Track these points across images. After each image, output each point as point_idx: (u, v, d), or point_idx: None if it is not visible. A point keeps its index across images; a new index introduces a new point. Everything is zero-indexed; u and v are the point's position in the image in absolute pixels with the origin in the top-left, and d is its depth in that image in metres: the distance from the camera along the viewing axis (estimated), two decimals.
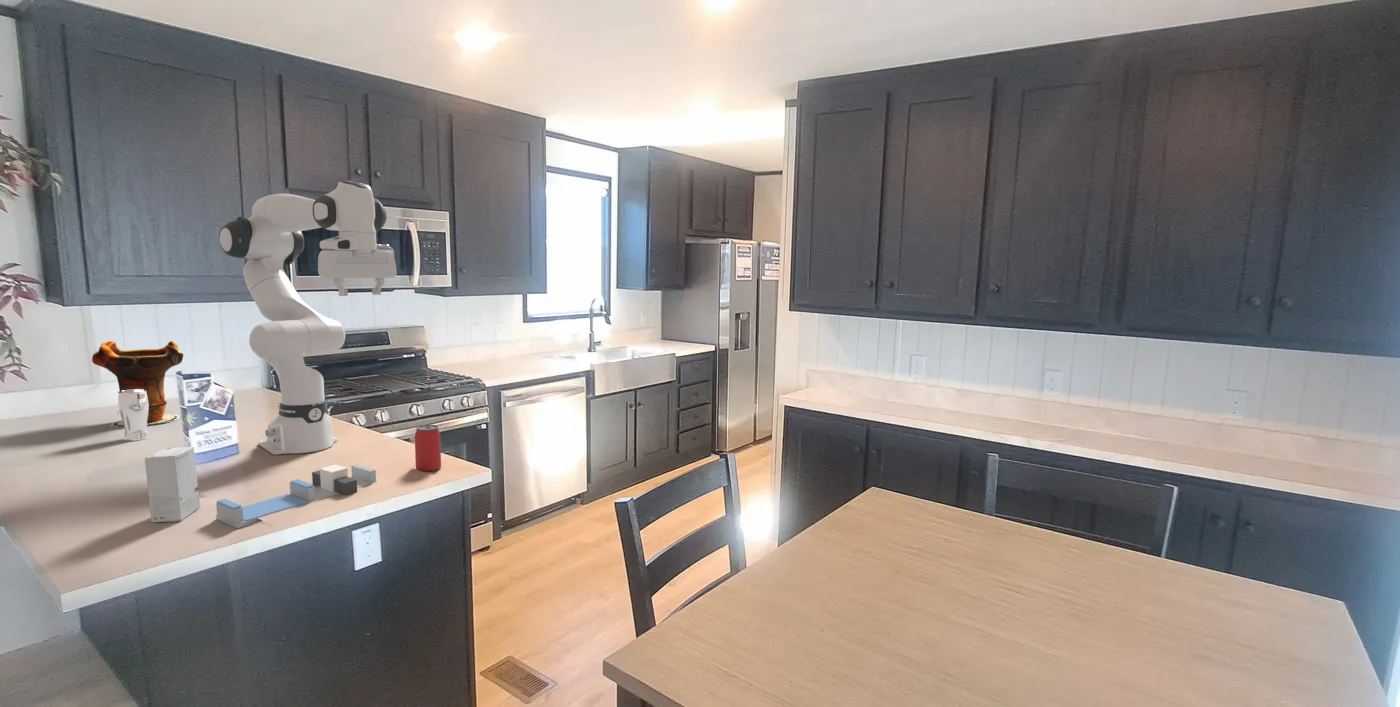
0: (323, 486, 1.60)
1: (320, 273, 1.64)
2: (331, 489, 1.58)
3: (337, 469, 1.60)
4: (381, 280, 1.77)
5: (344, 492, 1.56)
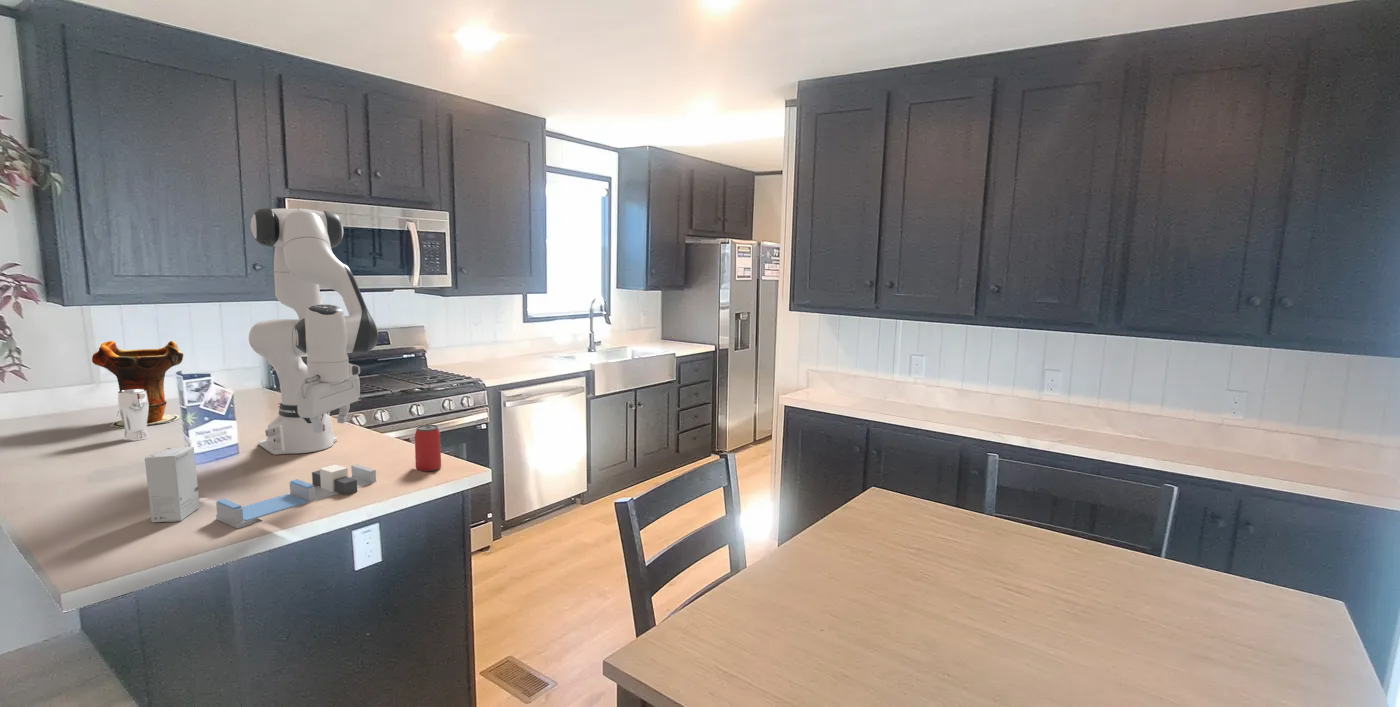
0: (323, 486, 1.60)
1: None
2: (331, 489, 1.58)
3: (337, 469, 1.60)
4: None
5: (344, 492, 1.56)
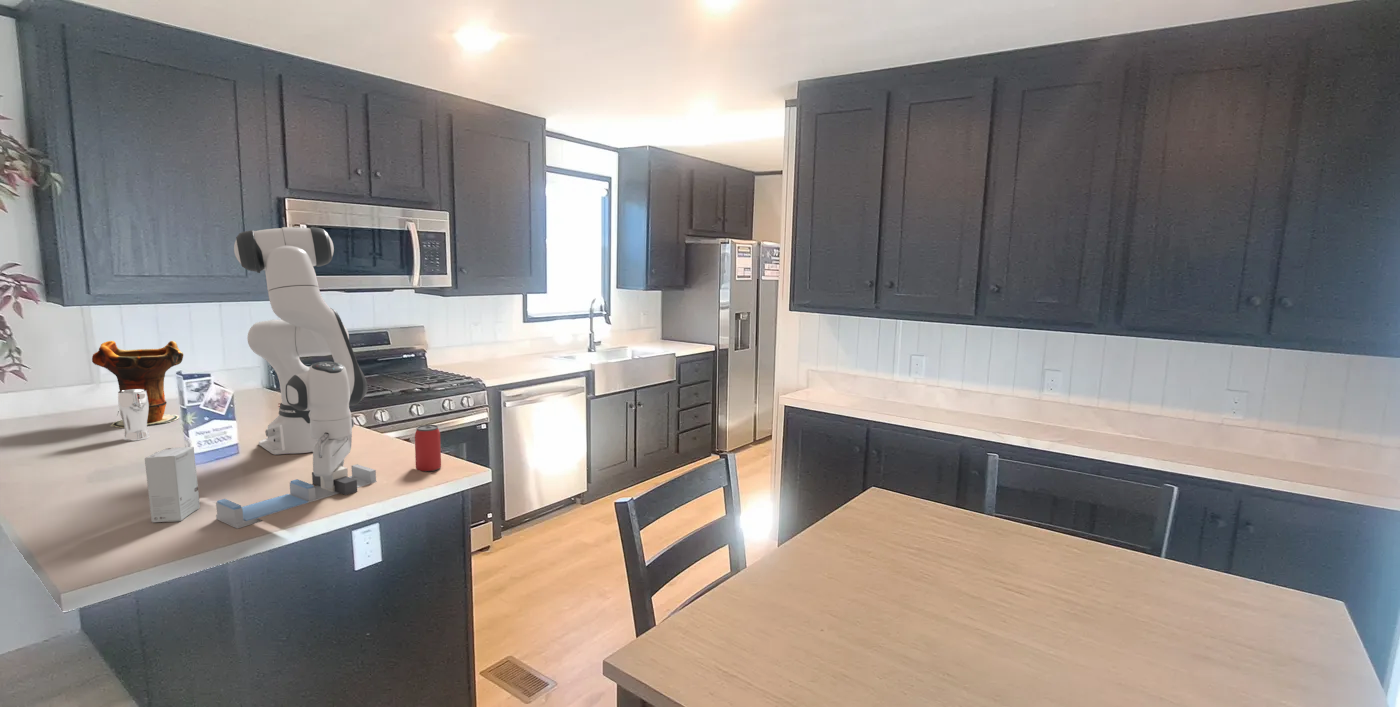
0: (323, 486, 1.60)
1: None
2: (331, 489, 1.58)
3: (337, 469, 1.60)
4: None
5: (344, 492, 1.56)
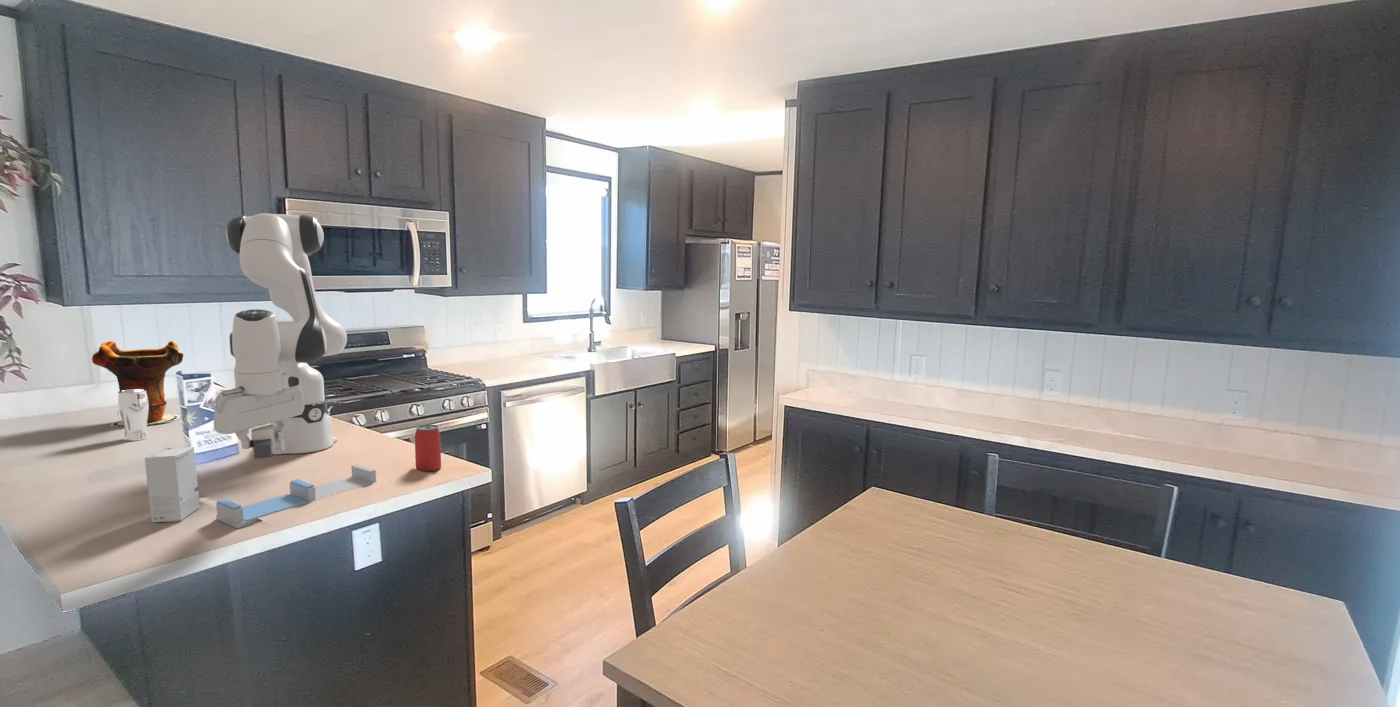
0: None
1: None
2: None
3: (262, 429, 1.44)
4: None
5: (254, 455, 1.39)
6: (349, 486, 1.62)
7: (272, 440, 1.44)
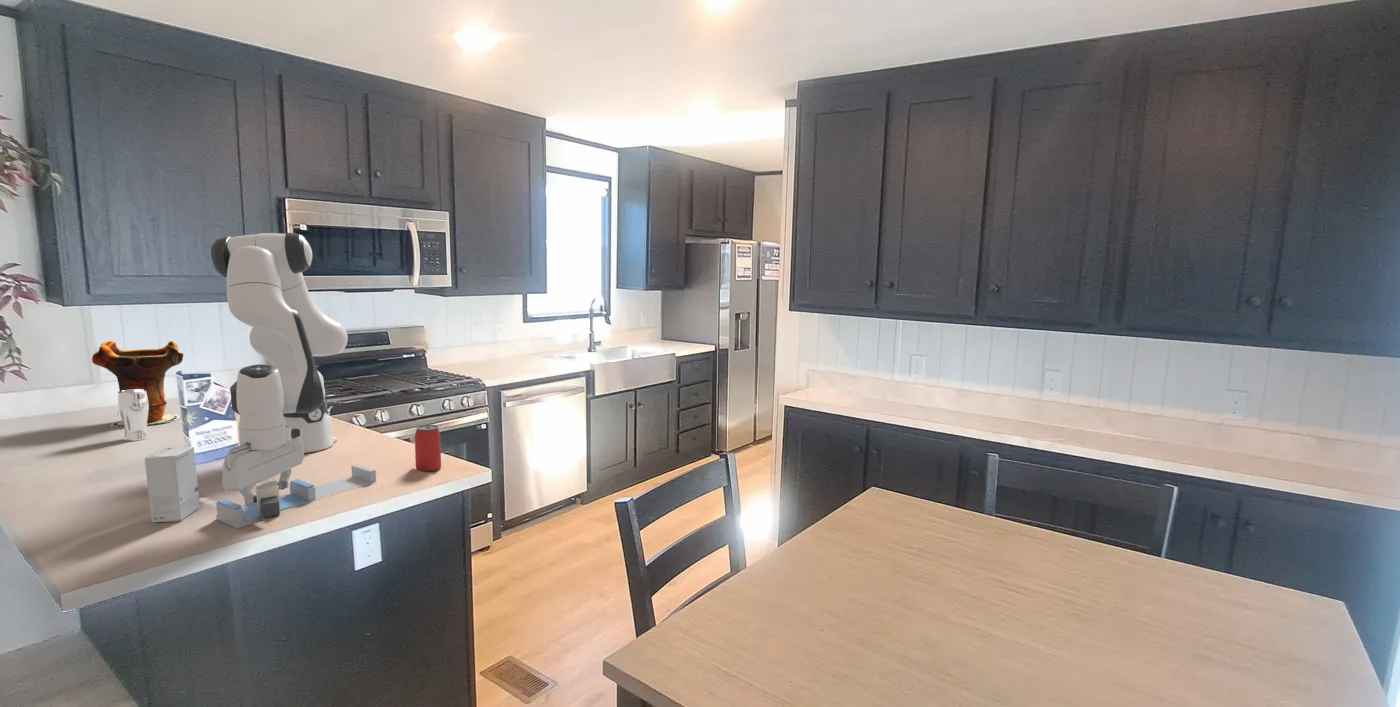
0: (257, 503, 1.47)
1: None
2: (258, 508, 1.45)
3: (267, 487, 1.46)
4: None
5: (263, 514, 1.42)
6: (349, 486, 1.62)
7: (278, 497, 1.47)
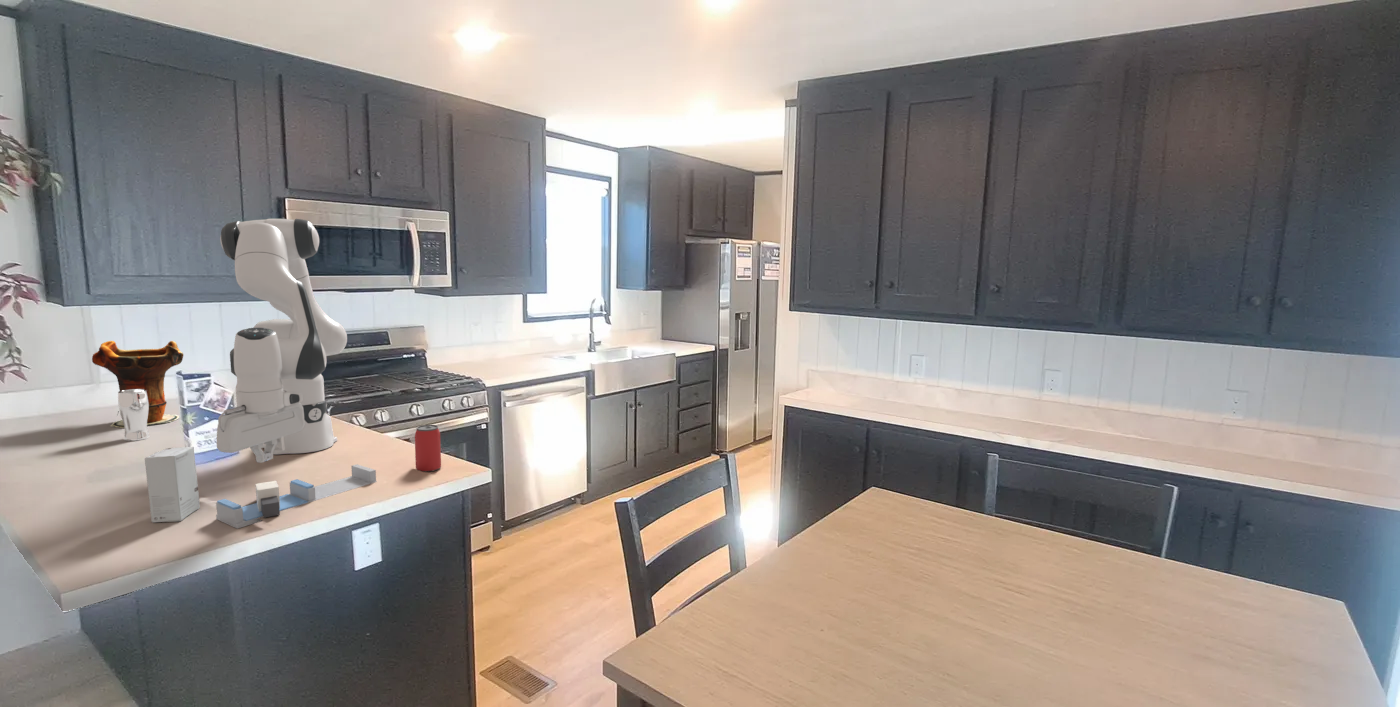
0: (257, 503, 1.47)
1: None
2: (258, 508, 1.45)
3: (267, 487, 1.46)
4: None
5: (263, 514, 1.42)
6: (349, 486, 1.62)
7: (278, 497, 1.47)
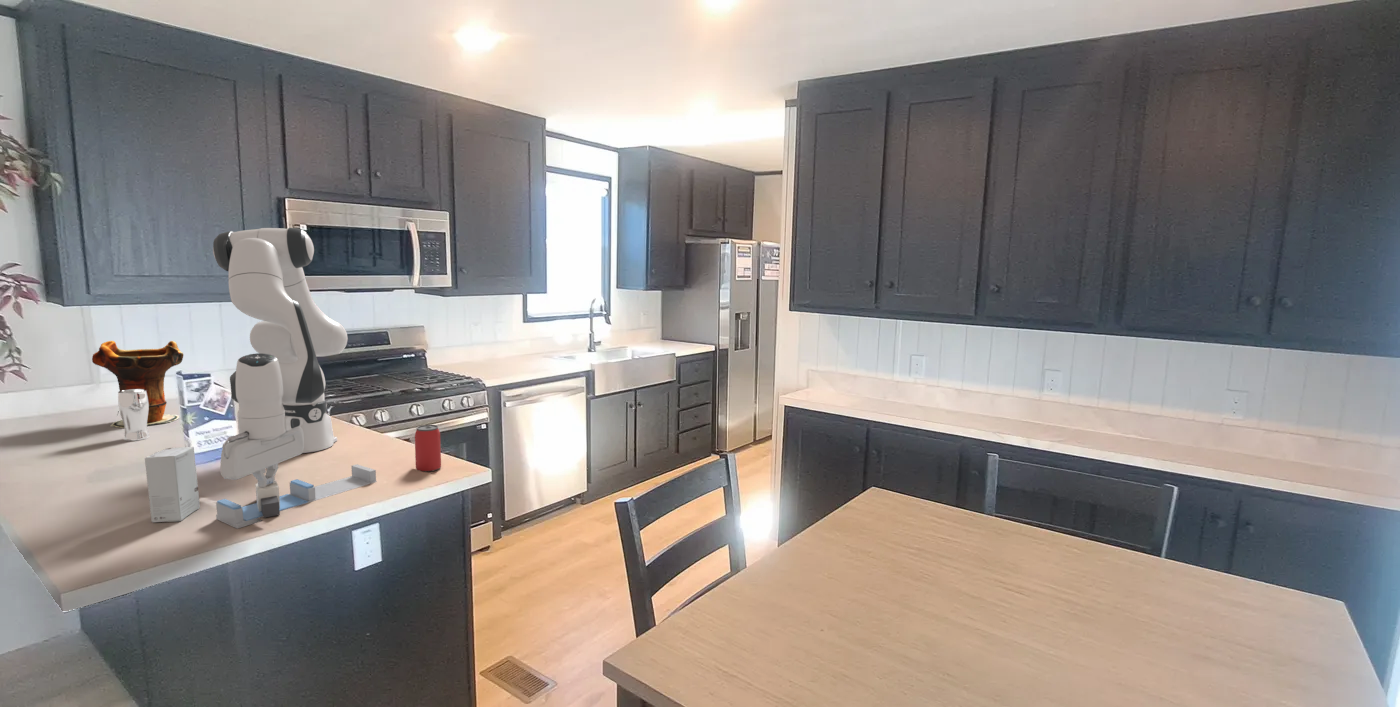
0: (257, 503, 1.47)
1: None
2: (258, 508, 1.45)
3: (267, 487, 1.46)
4: None
5: (263, 514, 1.42)
6: (349, 486, 1.62)
7: (278, 497, 1.47)
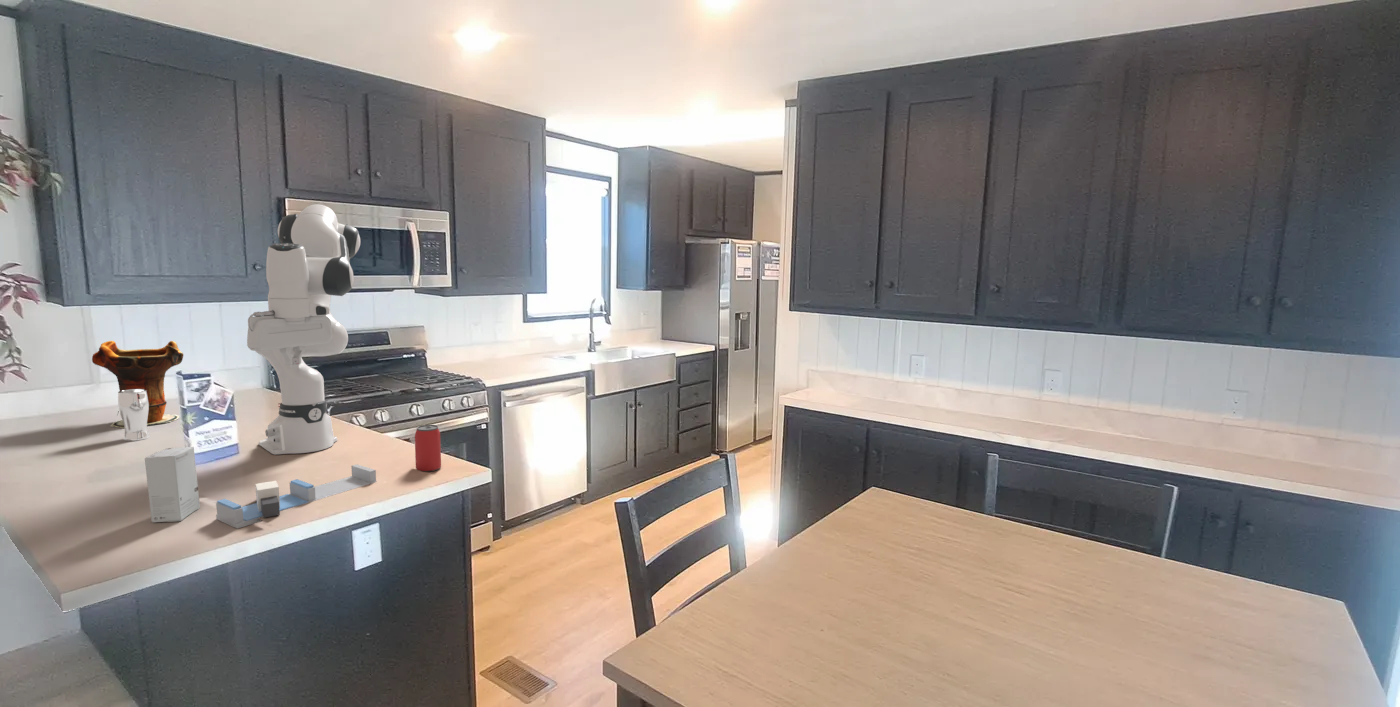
0: (257, 503, 1.47)
1: None
2: (258, 508, 1.45)
3: (267, 487, 1.46)
4: None
5: (263, 514, 1.42)
6: (349, 486, 1.62)
7: (278, 497, 1.47)
